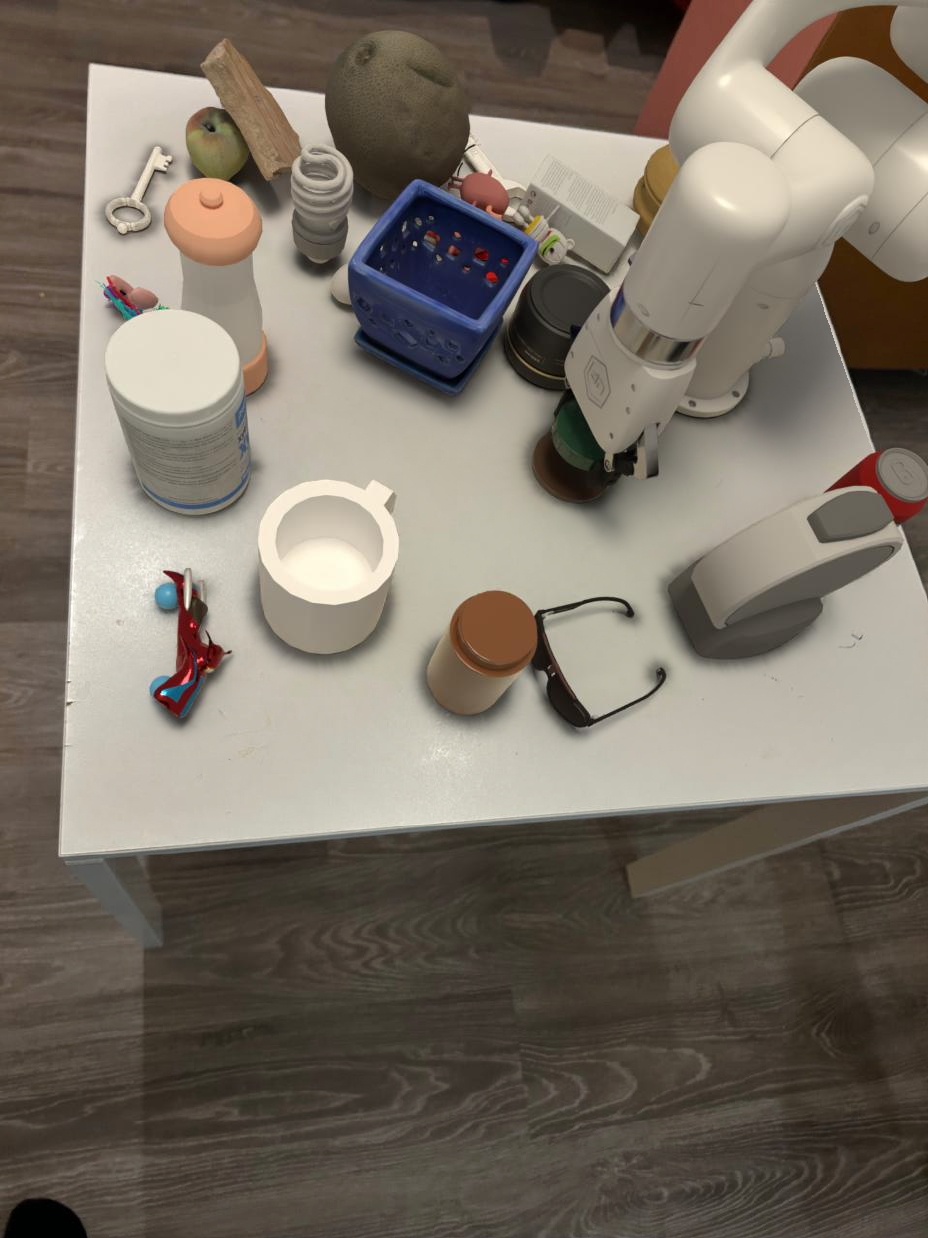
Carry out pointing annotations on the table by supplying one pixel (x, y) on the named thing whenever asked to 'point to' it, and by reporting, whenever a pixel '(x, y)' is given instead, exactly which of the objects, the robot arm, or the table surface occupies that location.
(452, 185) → the figurine
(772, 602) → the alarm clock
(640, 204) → the pot
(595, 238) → the cosmetic box
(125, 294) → the anatomy model
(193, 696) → the hoverbike
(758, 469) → the table surface
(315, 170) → the light bulb
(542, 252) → the toy
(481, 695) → the jam jar
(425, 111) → the cantaloupe
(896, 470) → the beverage can
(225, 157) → the apple
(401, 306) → the flower pot
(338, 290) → the egg
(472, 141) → the wrench
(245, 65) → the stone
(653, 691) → the sunglasses
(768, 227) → the robot arm
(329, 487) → the mug
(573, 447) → the lid
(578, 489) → the coaster
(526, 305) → the jar
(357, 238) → the table surface
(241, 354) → the salt shaker
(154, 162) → the key
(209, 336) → the supplement tub
